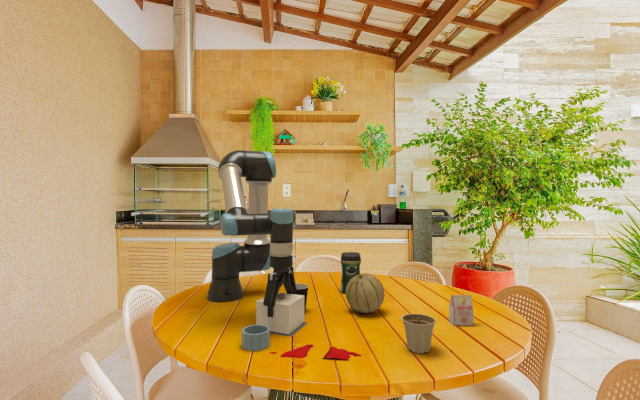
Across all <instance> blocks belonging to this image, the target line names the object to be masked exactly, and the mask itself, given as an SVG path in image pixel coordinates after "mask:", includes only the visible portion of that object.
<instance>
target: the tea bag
mask: <svg viewBox="0 0 640 400" xmlns="http://www.w3.org/2000/svg"><path fill="white" fill-rule="evenodd" d="M472 300H473V299H472V295H471V294H461V295H459V294H451V296H450V301H449V306H448V307H449V315H448V316H449V318H448V320H449V323H450V325H452V326H453V327H474V304H473V301H472Z"/></svg>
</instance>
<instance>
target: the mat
mask: <svg viewBox="0 0 640 400" xmlns="http://www.w3.org/2000/svg"><path fill="white" fill-rule="evenodd" d="M307 324H308V322H307V321H306V322H305V321H304V322H303V323H302V324H301V325H300V326H299V327H297V328H296V329H295V330H294V331H293V332H291V333H290V334H283V333H277V332H271V331H270V335H271V334H272V335H278V336H282V337H283V336H284V337H290V338H292V337H294V335H295V334H297V333H299V331H300V330H301V329H303V328H304V327H305V326H306V325H307Z"/></svg>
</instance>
